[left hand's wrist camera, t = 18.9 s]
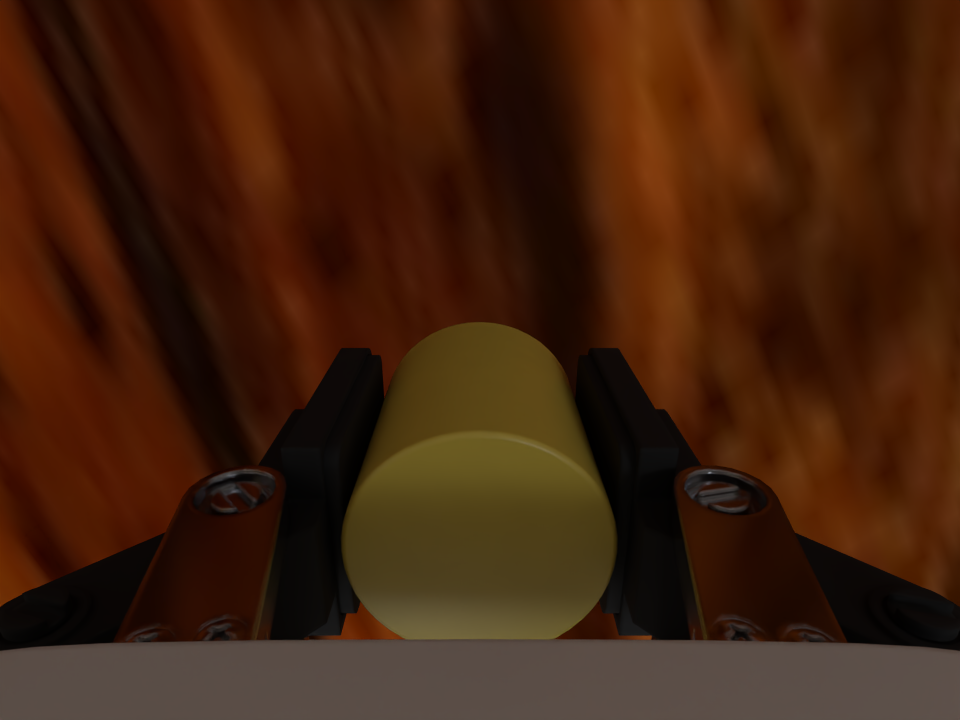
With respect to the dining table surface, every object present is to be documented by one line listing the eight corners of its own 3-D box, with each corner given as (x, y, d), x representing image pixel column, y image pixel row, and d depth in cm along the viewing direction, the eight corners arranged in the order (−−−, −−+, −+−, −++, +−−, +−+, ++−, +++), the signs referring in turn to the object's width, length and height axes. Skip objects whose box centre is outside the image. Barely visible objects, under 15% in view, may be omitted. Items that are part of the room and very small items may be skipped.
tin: (588, 333, 12) (649, 451, 8) (553, 496, 13) (589, 671, 9) (394, 309, 11) (346, 416, 7) (380, 476, 13) (333, 646, 9)
